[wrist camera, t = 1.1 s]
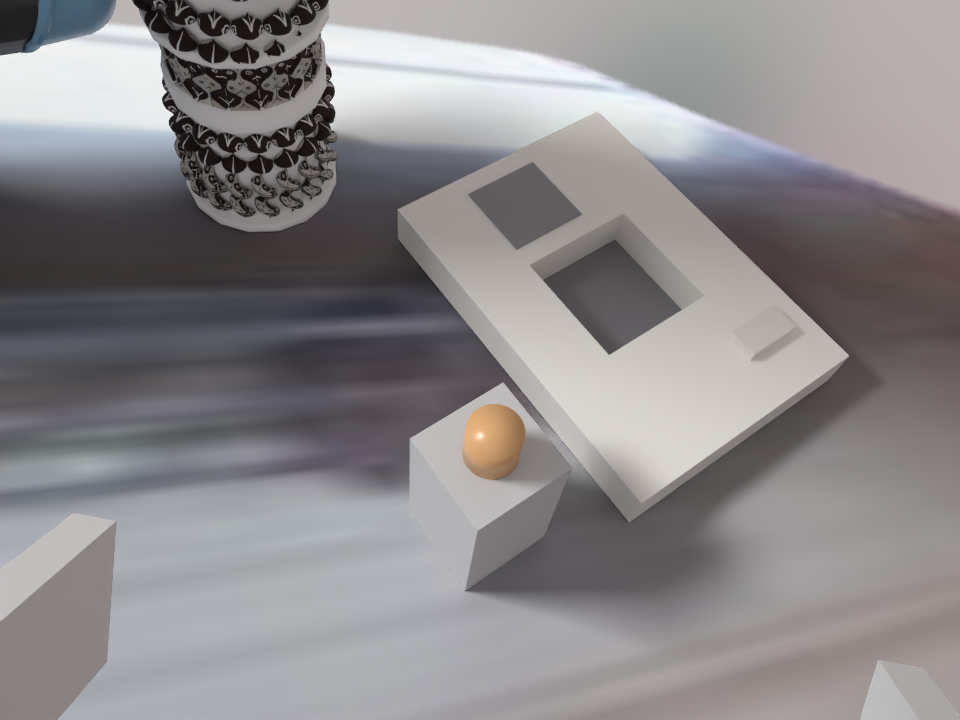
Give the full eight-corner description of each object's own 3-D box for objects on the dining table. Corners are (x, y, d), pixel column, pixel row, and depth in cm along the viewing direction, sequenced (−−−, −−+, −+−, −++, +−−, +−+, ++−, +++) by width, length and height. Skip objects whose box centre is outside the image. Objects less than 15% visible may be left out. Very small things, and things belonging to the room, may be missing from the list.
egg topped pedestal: (409, 511, 40) (410, 415, 32) (487, 462, 42) (508, 357, 33) (465, 591, 39) (481, 511, 30) (544, 536, 40) (581, 446, 32)
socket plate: (398, 238, 48) (397, 201, 46) (590, 142, 53) (599, 103, 50) (629, 522, 41) (644, 498, 38) (828, 379, 46) (854, 349, 43)
